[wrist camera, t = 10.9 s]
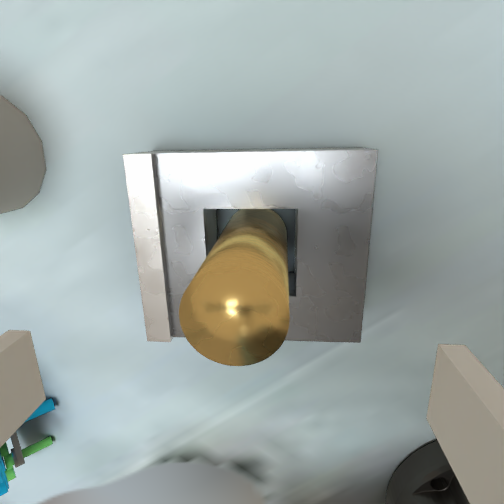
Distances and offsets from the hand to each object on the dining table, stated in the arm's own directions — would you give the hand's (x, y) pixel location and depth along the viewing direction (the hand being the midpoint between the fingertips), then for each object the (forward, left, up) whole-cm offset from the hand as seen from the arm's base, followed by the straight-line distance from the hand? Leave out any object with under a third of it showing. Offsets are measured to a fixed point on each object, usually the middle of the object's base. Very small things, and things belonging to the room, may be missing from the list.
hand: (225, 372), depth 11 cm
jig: (0, 0, -15) cm, 15 cm away
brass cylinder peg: (0, 0, -15) cm, 15 cm away
